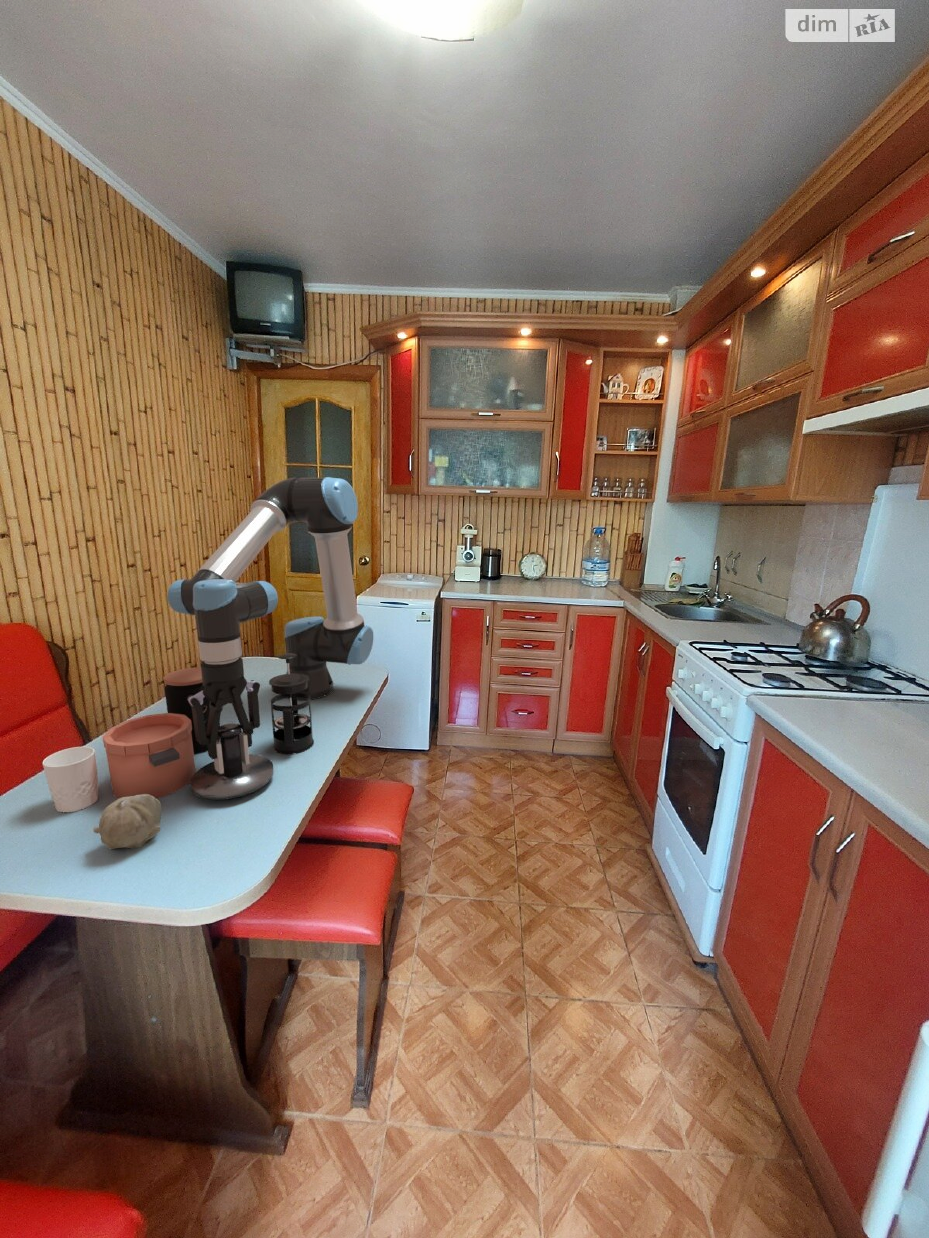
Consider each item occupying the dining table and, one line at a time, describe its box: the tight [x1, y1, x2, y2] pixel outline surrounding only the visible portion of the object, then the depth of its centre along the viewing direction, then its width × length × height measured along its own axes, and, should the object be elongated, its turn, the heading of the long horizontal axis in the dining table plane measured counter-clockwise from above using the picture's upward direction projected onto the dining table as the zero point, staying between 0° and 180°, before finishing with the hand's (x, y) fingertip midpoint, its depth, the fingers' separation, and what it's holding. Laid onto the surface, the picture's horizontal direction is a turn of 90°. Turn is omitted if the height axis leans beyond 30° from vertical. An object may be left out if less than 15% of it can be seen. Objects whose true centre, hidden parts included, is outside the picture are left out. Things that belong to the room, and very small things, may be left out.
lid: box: [190, 722, 275, 800], centre depth 103 cm, size 16×16×13 cm
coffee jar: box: [162, 666, 221, 754], centre depth 119 cm, size 11×11×18 cm
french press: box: [268, 652, 315, 755], centre depth 119 cm, size 12×9×23 cm
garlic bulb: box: [93, 794, 163, 850], centre depth 85 cm, size 9×8×10 cm
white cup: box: [42, 746, 100, 814], centre depth 96 cm, size 8×8×10 cm
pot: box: [101, 712, 197, 800], centre depth 104 cm, size 21×15×12 cm
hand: (232, 766), depth 103 cm, fingers open, 4 cm apart
